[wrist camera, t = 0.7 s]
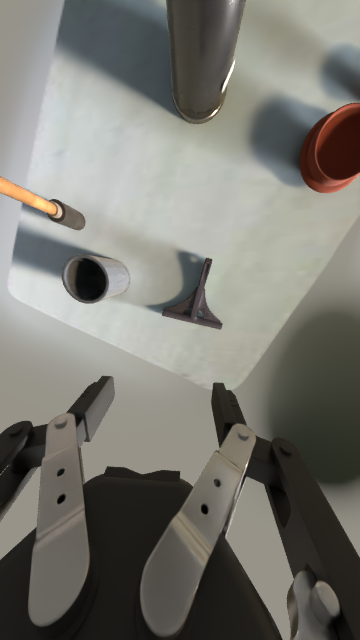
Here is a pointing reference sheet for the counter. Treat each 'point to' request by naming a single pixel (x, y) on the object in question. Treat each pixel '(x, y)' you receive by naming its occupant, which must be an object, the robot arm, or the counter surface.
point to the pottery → (332, 150)
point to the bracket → (196, 304)
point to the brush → (44, 205)
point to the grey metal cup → (94, 278)
